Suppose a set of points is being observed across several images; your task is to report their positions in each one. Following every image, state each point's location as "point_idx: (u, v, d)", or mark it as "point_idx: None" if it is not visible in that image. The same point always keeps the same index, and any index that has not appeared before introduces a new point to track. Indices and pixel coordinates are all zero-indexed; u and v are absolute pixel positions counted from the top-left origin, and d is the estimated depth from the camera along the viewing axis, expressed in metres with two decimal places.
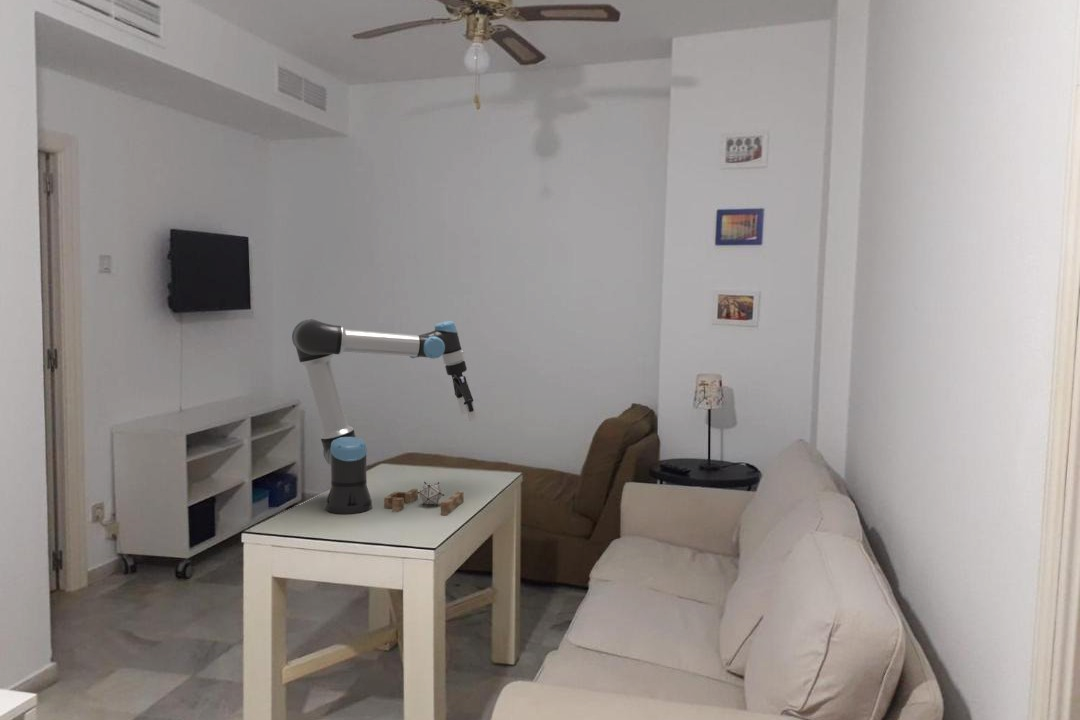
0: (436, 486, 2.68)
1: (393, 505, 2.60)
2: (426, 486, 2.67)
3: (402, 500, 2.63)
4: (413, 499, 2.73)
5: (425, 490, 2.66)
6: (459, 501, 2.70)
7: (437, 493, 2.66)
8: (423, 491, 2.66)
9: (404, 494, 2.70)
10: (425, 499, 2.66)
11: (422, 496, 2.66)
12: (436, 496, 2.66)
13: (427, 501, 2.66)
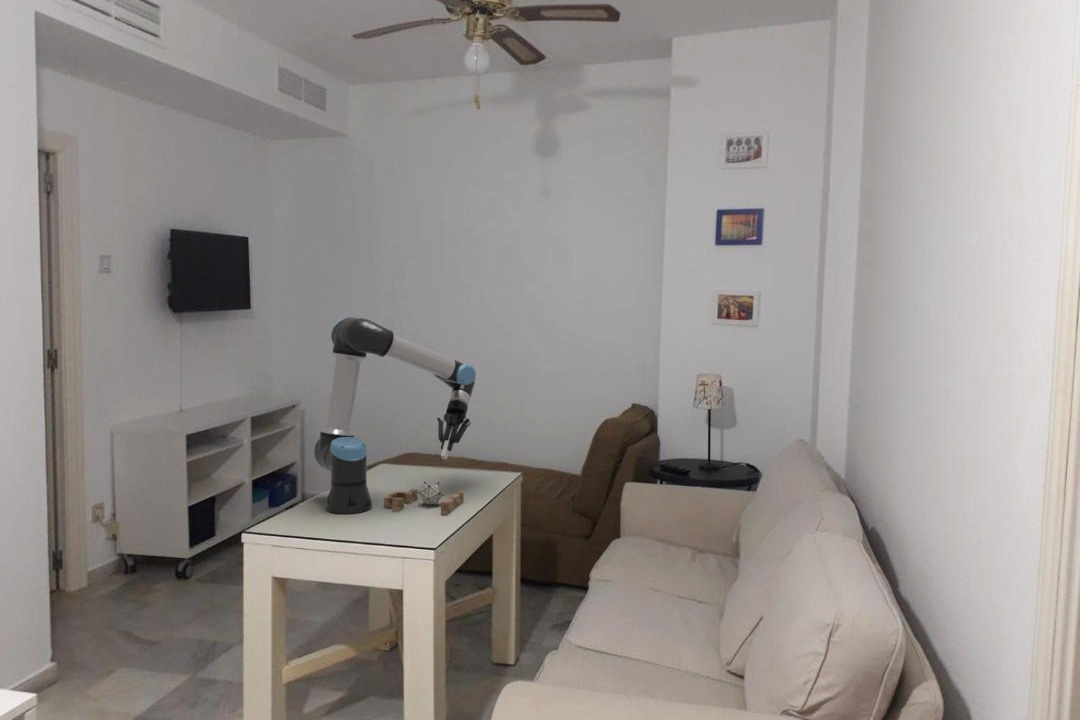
0: (436, 486, 2.68)
1: (393, 505, 2.60)
2: (426, 486, 2.67)
3: (402, 500, 2.63)
4: (413, 499, 2.73)
5: (425, 490, 2.66)
6: (459, 501, 2.70)
7: (437, 493, 2.66)
8: (423, 491, 2.66)
9: (404, 494, 2.70)
10: (425, 499, 2.66)
11: (422, 496, 2.66)
12: (436, 496, 2.66)
13: (427, 501, 2.66)
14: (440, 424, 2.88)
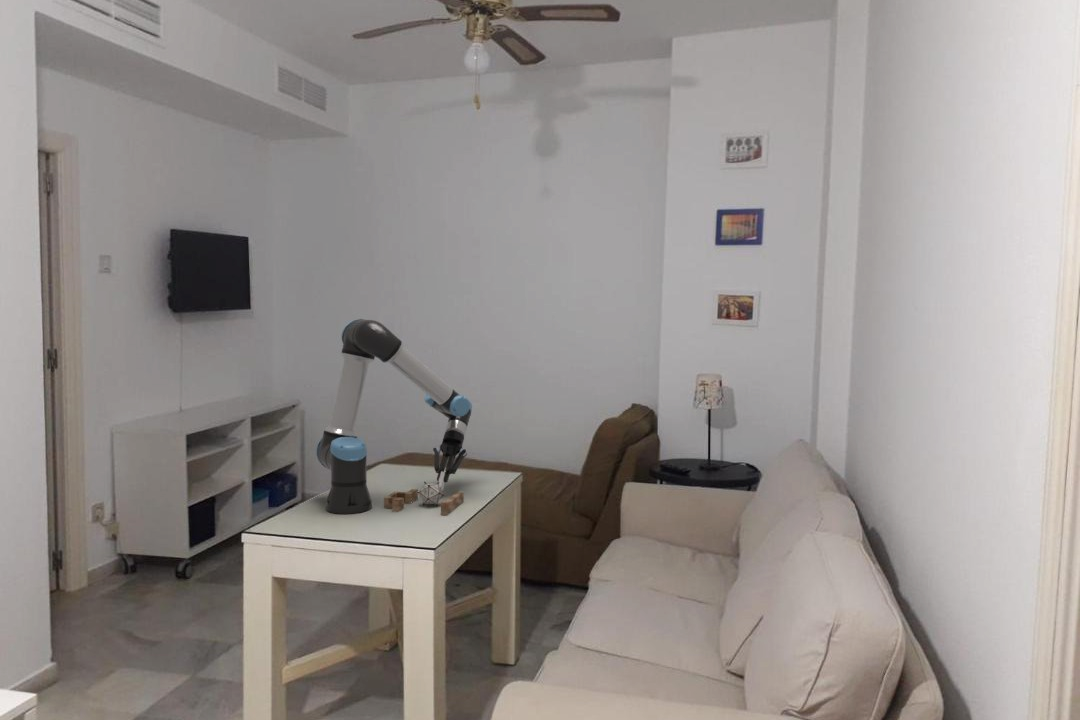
0: (436, 486, 2.68)
1: (393, 505, 2.60)
2: (426, 486, 2.67)
3: (402, 500, 2.63)
4: (413, 499, 2.73)
5: (425, 490, 2.66)
6: (459, 501, 2.70)
7: (437, 493, 2.66)
8: (423, 491, 2.66)
9: (404, 494, 2.70)
10: (425, 499, 2.66)
11: (422, 496, 2.66)
12: (436, 496, 2.66)
13: (427, 501, 2.66)
14: (436, 454, 2.86)
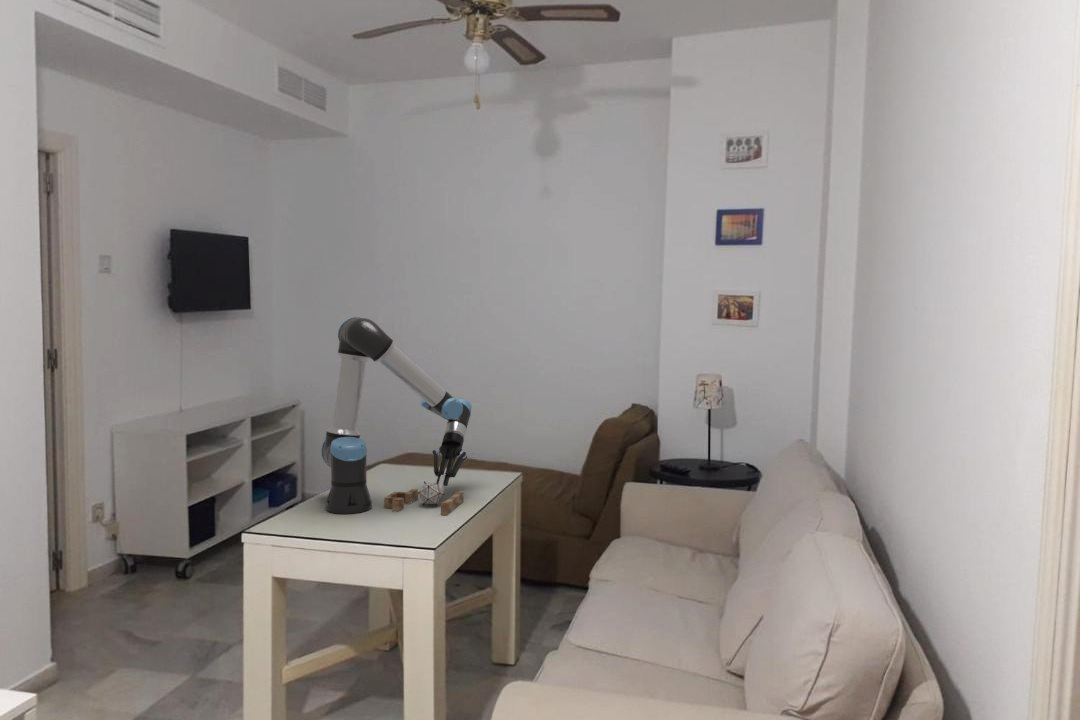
0: (436, 486, 2.67)
1: (393, 505, 2.60)
2: (426, 486, 2.67)
3: (402, 500, 2.63)
4: (413, 499, 2.73)
5: (425, 491, 2.65)
6: (459, 501, 2.70)
7: (437, 493, 2.66)
8: (423, 491, 2.66)
9: (404, 494, 2.70)
10: (425, 499, 2.66)
11: (422, 496, 2.66)
12: (436, 496, 2.66)
13: (427, 501, 2.66)
14: (435, 457, 2.80)
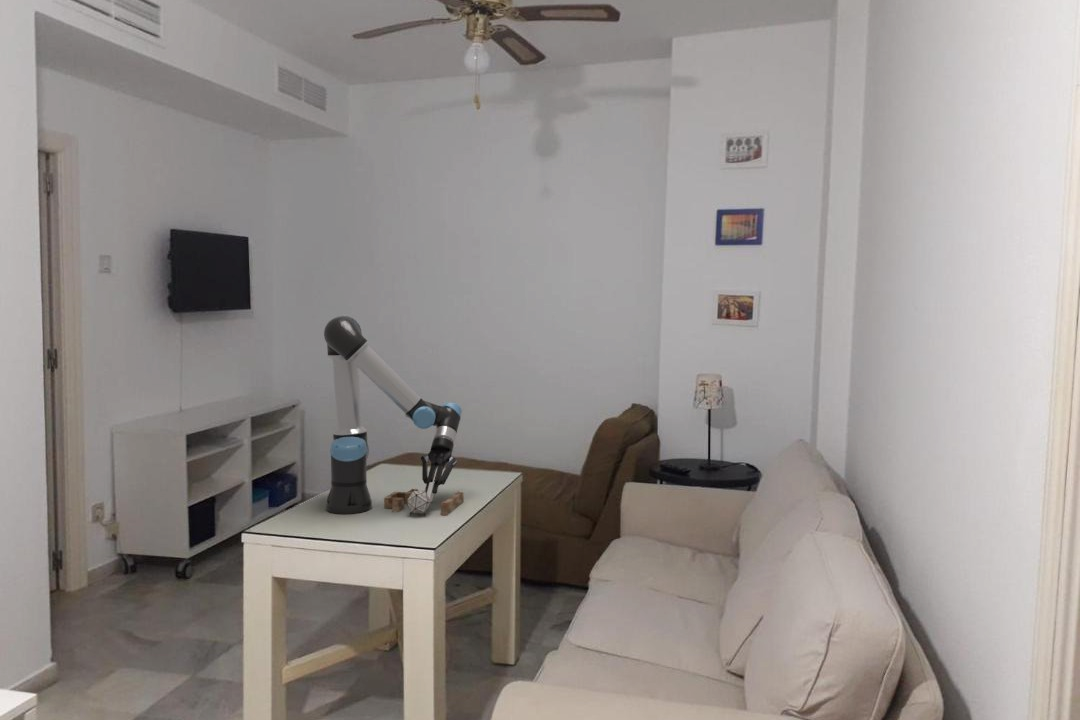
0: (424, 494, 2.55)
1: (393, 505, 2.60)
2: (413, 495, 2.55)
3: (402, 500, 2.63)
4: None
5: (413, 499, 2.54)
6: (459, 501, 2.70)
7: (425, 502, 2.54)
8: (410, 500, 2.54)
9: (404, 494, 2.70)
10: (412, 508, 2.54)
11: (409, 505, 2.54)
12: (424, 505, 2.54)
13: (415, 510, 2.54)
14: (424, 464, 2.68)
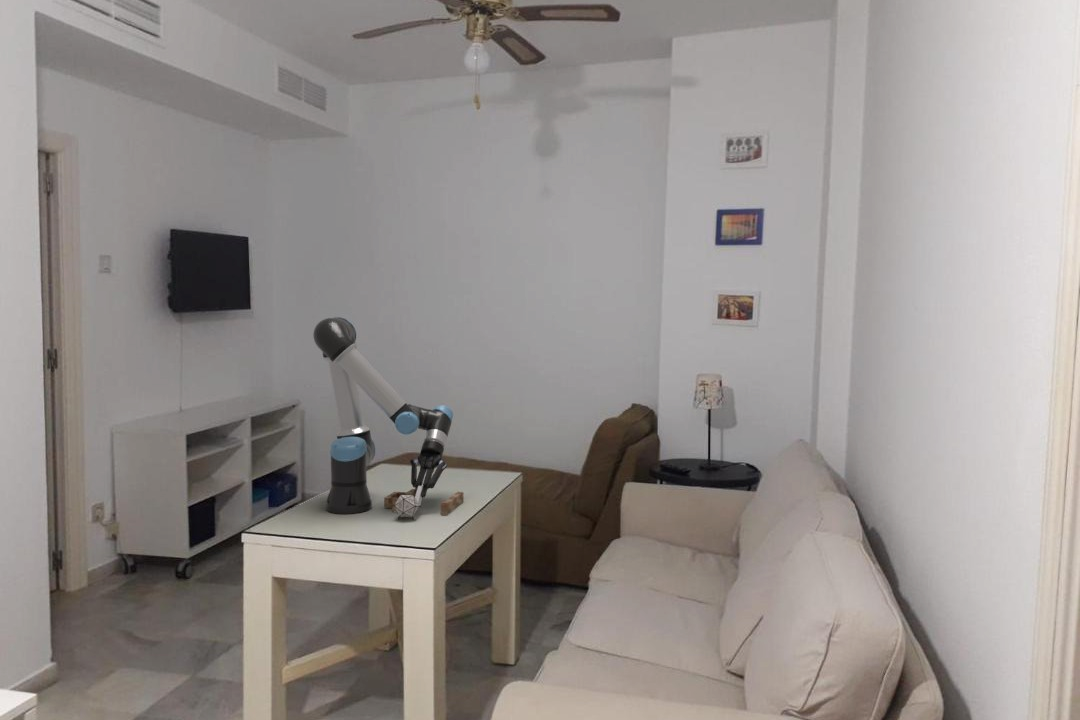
0: (412, 498, 2.50)
1: None
2: (401, 499, 2.50)
3: None
4: None
5: (400, 503, 2.49)
6: (459, 501, 2.70)
7: (413, 506, 2.49)
8: (398, 504, 2.49)
9: (404, 494, 2.70)
10: (400, 513, 2.49)
11: (397, 509, 2.49)
12: (412, 509, 2.49)
13: (403, 514, 2.49)
14: (413, 467, 2.63)
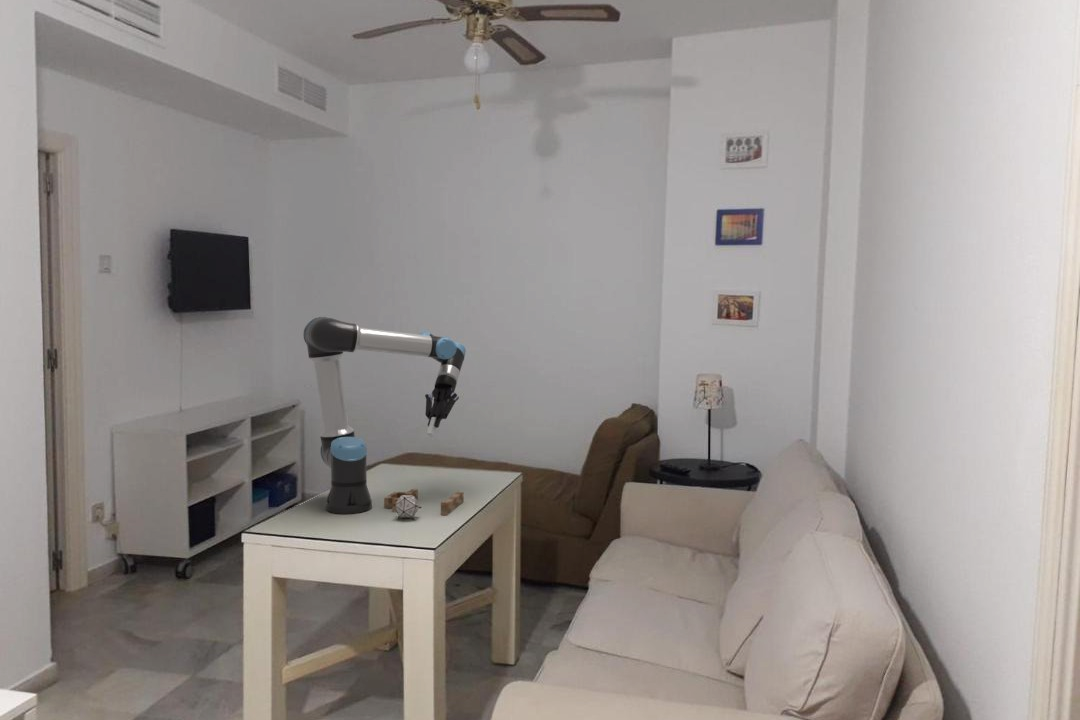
0: (412, 498, 2.51)
1: None
2: (402, 498, 2.50)
3: None
4: None
5: (401, 503, 2.49)
6: (459, 501, 2.70)
7: (413, 506, 2.49)
8: (398, 503, 2.50)
9: (404, 494, 2.70)
10: (400, 512, 2.49)
11: (397, 509, 2.50)
12: (412, 509, 2.49)
13: (403, 514, 2.49)
14: (428, 401, 2.80)
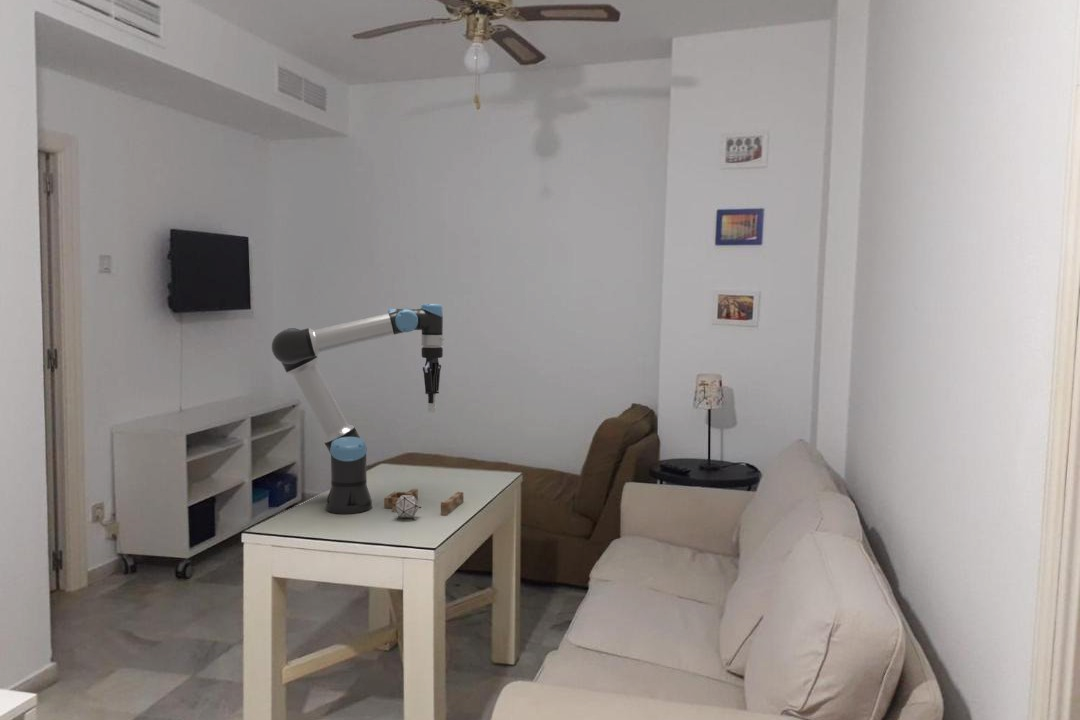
0: (412, 498, 2.51)
1: None
2: (402, 498, 2.50)
3: None
4: None
5: (401, 503, 2.49)
6: (459, 501, 2.70)
7: (413, 506, 2.49)
8: (398, 503, 2.50)
9: (404, 494, 2.70)
10: (400, 512, 2.49)
11: (397, 509, 2.50)
12: (412, 509, 2.49)
13: (403, 514, 2.49)
14: None
